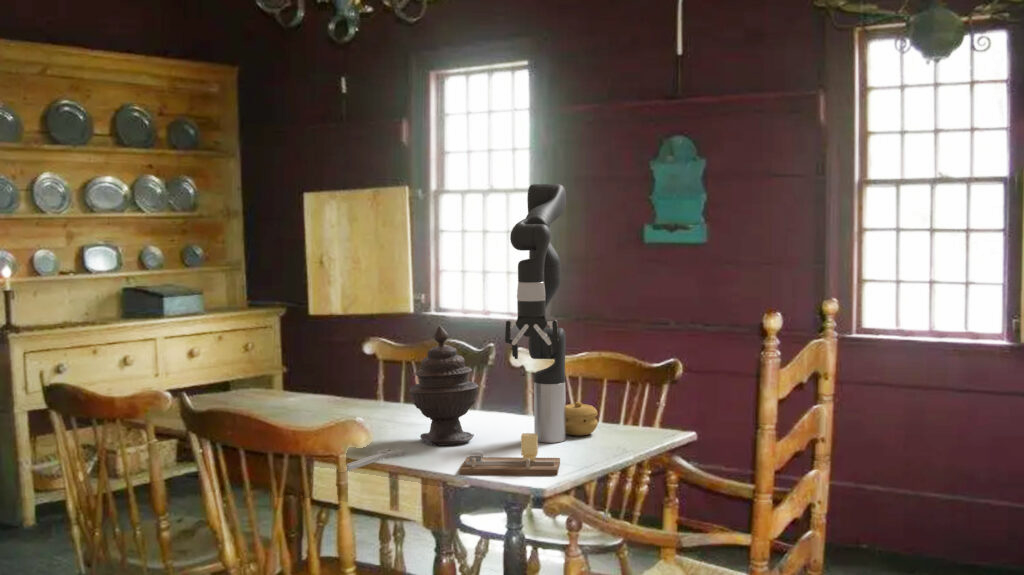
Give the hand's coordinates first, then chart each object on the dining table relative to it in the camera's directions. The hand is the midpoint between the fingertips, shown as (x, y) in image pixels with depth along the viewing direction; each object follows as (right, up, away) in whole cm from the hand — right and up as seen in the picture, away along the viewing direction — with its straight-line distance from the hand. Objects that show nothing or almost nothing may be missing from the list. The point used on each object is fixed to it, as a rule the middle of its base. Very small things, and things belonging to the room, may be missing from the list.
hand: (532, 358), depth 297 cm
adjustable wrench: (-44, -29, +3) cm, 53 cm away
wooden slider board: (-6, -28, -9) cm, 30 cm away
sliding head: (-1, -26, -9) cm, 28 cm away
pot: (+15, -26, +36) cm, 47 cm away
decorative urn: (-25, -26, +28) cm, 46 cm away
